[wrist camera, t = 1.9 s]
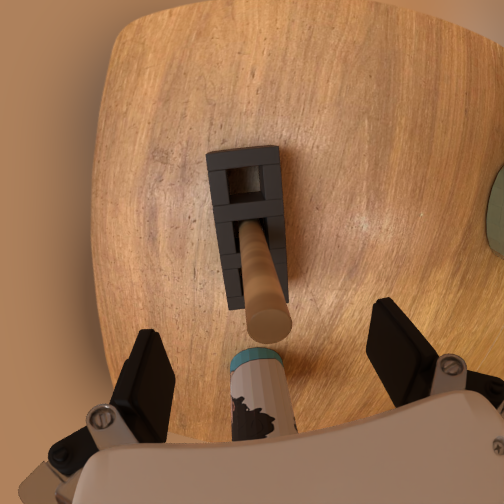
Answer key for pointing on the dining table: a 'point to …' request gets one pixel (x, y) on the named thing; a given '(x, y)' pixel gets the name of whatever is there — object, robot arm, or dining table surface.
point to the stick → (261, 287)
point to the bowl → (496, 216)
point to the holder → (247, 213)
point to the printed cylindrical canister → (260, 396)
